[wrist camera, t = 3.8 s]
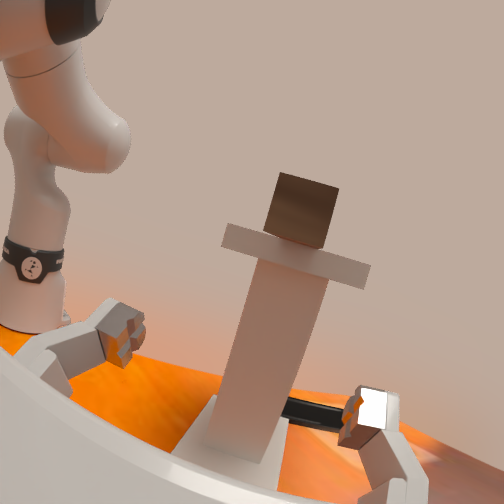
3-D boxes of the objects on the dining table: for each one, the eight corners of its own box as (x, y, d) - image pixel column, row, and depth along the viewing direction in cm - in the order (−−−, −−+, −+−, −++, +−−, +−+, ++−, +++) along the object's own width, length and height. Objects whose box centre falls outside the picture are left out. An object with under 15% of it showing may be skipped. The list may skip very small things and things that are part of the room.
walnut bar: (322, 248, 15) (339, 188, 15) (263, 230, 16) (280, 172, 16) (314, 249, 41) (320, 227, 41) (291, 243, 41) (298, 220, 41)
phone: (266, 390, 52) (346, 409, 51) (264, 396, 52) (344, 414, 51) (264, 412, 44) (354, 432, 43) (262, 418, 44) (351, 437, 43)
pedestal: (272, 502, 26) (370, 265, 24) (165, 464, 28) (227, 222, 26) (286, 424, 43) (345, 259, 42) (212, 399, 45) (260, 234, 44)
